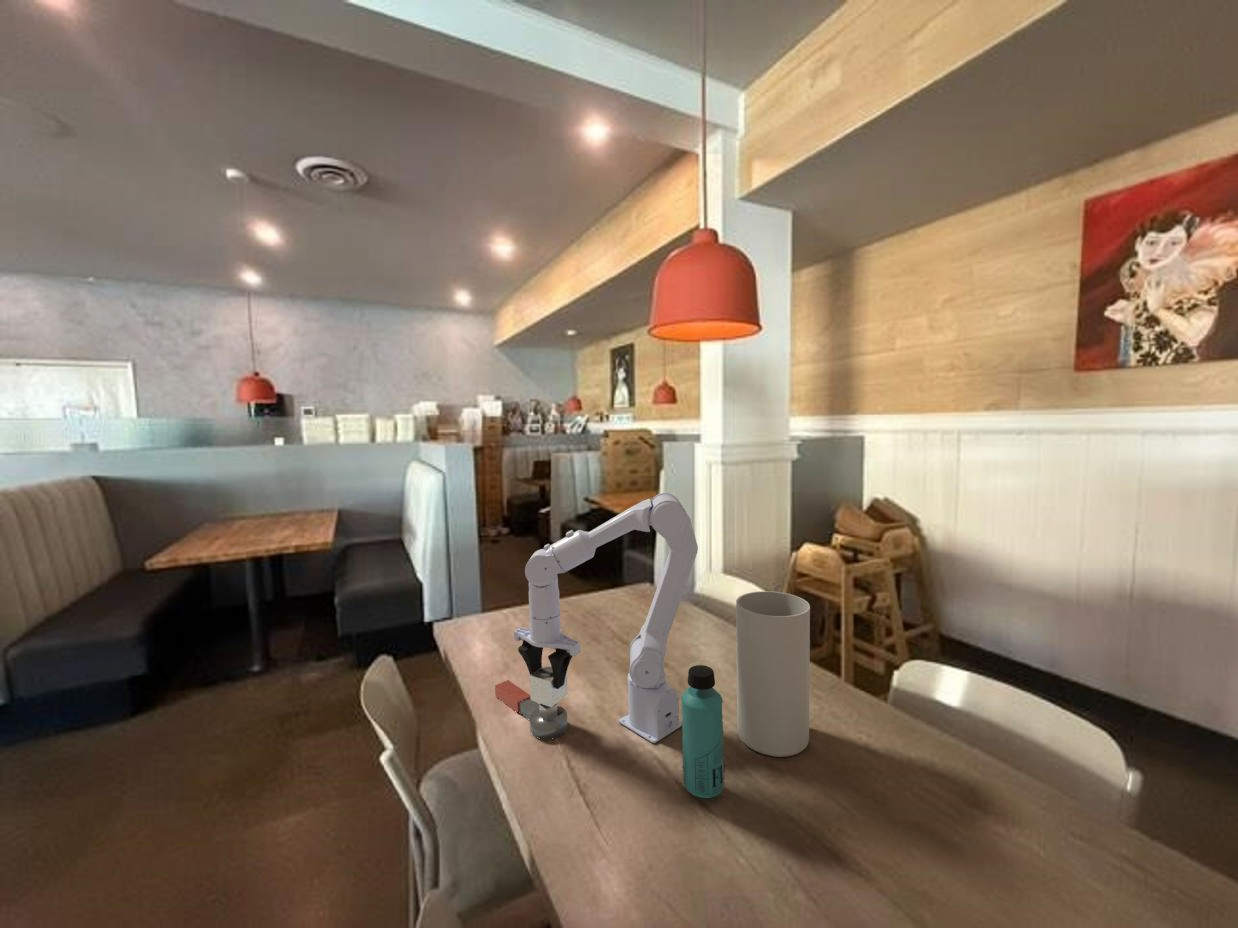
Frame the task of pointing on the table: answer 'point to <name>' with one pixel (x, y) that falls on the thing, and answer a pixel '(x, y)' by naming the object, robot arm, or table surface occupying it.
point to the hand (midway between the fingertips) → (547, 682)
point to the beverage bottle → (702, 734)
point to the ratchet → (533, 711)
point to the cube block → (546, 687)
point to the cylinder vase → (773, 672)
